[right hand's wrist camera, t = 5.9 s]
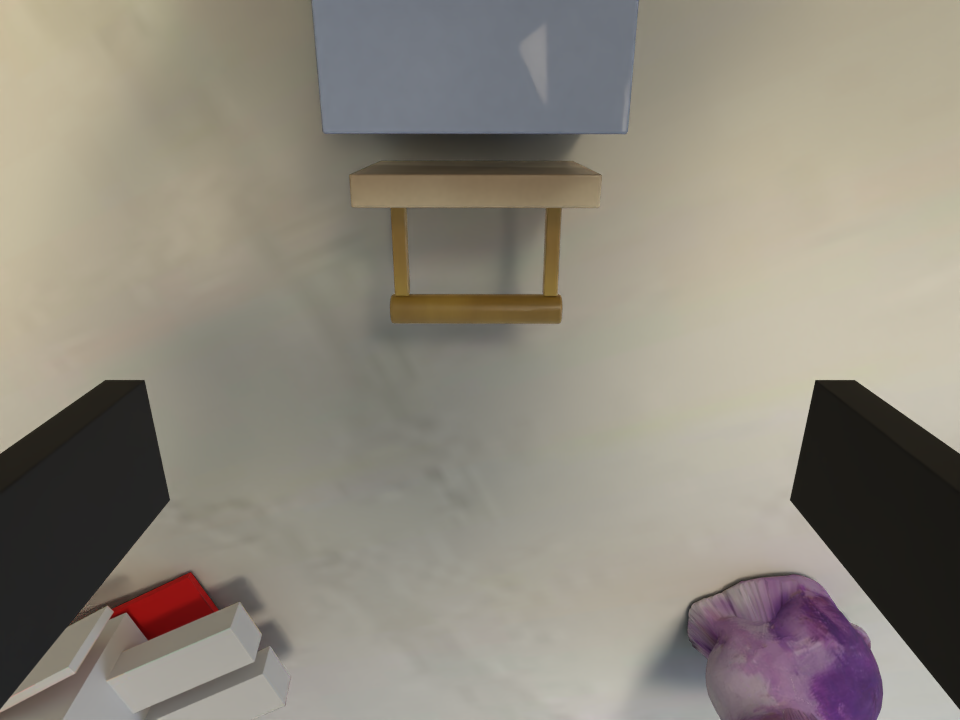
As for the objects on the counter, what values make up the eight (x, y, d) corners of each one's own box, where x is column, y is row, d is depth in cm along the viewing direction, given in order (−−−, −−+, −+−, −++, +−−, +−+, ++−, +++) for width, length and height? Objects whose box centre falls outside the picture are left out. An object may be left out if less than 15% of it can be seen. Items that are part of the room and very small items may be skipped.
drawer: (566, 294, 32) (590, 344, 25) (387, 294, 32) (361, 343, 25) (597, -277, 24) (645, -437, 17) (355, -277, 24) (304, -437, 17)
